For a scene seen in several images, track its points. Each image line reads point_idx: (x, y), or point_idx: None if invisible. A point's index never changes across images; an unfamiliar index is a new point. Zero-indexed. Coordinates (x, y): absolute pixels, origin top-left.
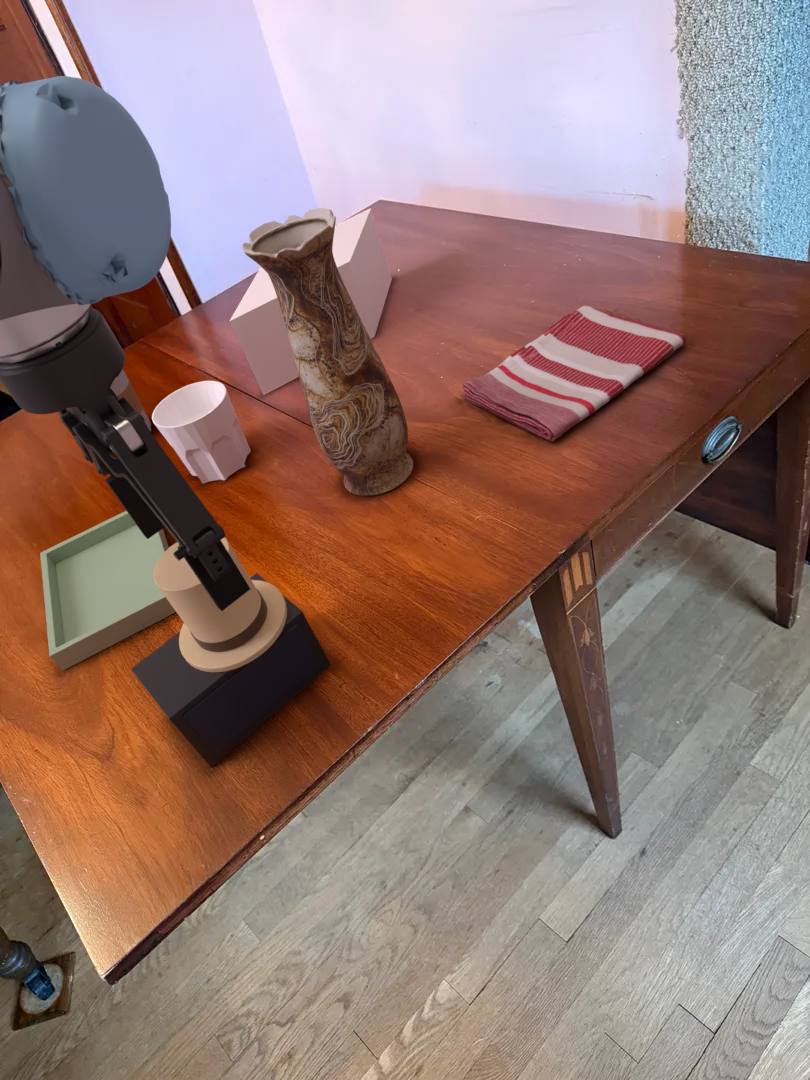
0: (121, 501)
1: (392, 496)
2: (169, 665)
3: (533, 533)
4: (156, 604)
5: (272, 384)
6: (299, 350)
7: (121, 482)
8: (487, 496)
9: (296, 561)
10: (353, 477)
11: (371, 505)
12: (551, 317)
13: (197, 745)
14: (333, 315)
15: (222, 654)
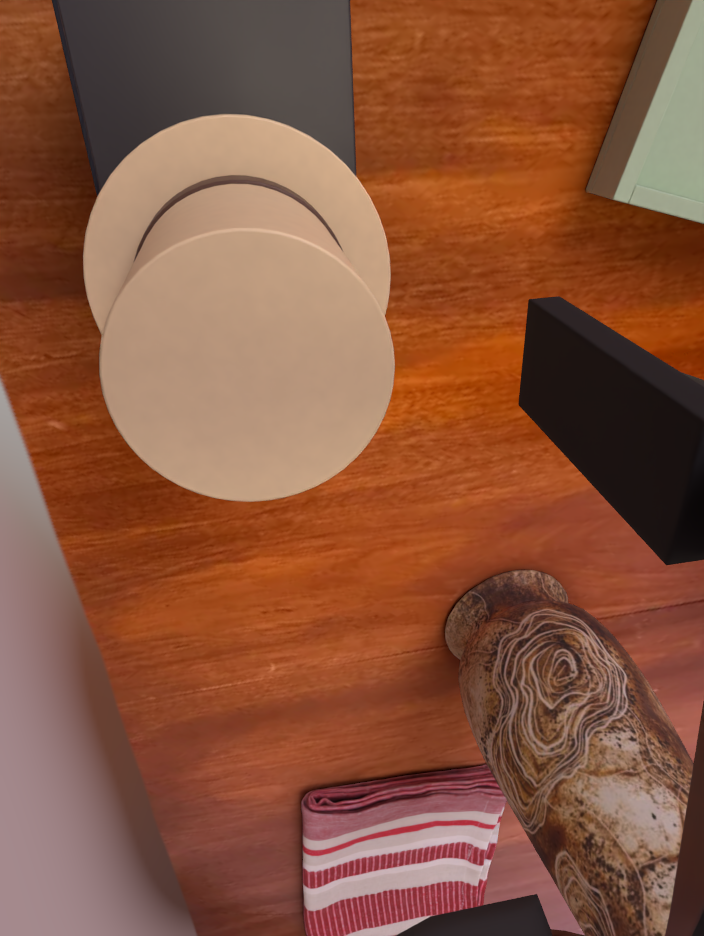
0: (629, 372)
1: (436, 608)
2: (255, 60)
3: (173, 699)
4: (633, 133)
5: None
6: None
7: (669, 455)
8: (298, 694)
9: (465, 426)
10: (514, 603)
11: (453, 578)
12: (517, 883)
13: None
14: None
15: (147, 212)
